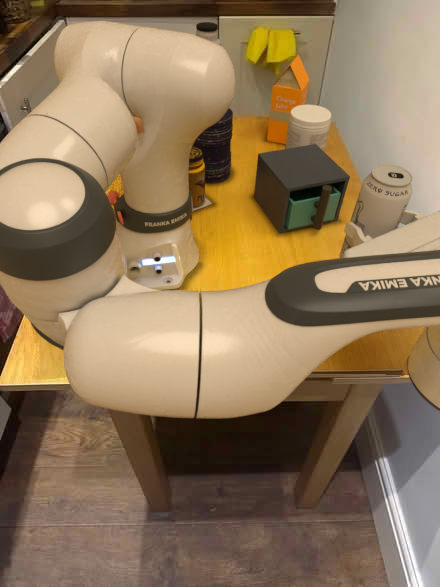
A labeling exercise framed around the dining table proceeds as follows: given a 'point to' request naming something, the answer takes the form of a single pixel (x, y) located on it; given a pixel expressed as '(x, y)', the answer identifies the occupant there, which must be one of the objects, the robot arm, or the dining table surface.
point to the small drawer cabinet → (294, 179)
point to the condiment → (197, 179)
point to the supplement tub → (308, 126)
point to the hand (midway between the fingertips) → (370, 217)
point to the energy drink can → (381, 201)
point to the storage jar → (217, 149)
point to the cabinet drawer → (312, 206)
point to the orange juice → (286, 99)
